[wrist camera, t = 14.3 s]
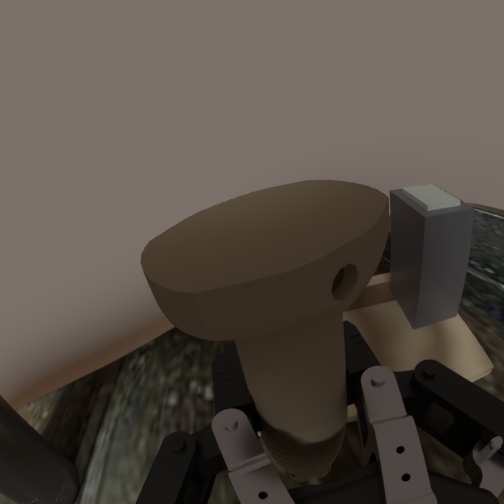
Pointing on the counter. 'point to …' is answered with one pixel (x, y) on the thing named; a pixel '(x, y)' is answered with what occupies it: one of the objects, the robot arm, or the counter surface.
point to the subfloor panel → (412, 337)
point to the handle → (278, 300)
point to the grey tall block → (429, 252)
